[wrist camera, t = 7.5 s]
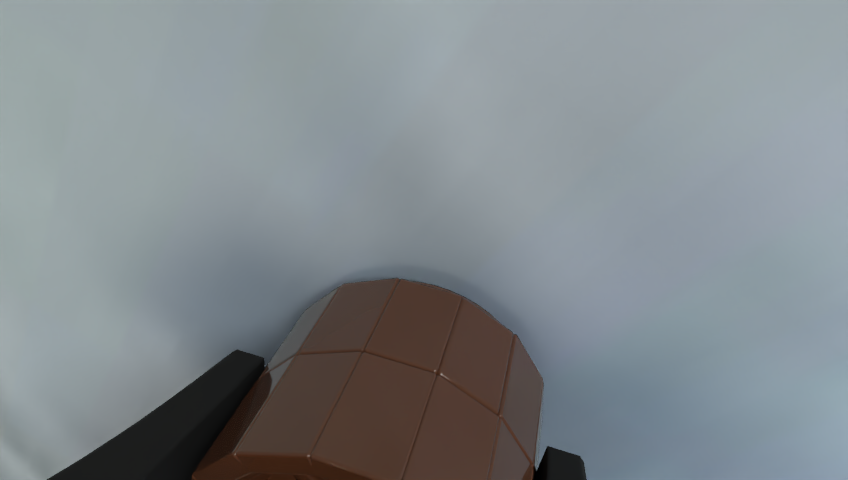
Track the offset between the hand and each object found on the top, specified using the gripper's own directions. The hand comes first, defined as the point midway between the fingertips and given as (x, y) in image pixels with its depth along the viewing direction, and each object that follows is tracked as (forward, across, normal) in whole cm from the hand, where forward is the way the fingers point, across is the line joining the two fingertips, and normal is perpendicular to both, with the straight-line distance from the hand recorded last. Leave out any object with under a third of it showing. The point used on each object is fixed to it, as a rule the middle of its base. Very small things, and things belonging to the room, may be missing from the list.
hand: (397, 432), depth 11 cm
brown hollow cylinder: (+2, 0, 0) cm, 2 cm away
